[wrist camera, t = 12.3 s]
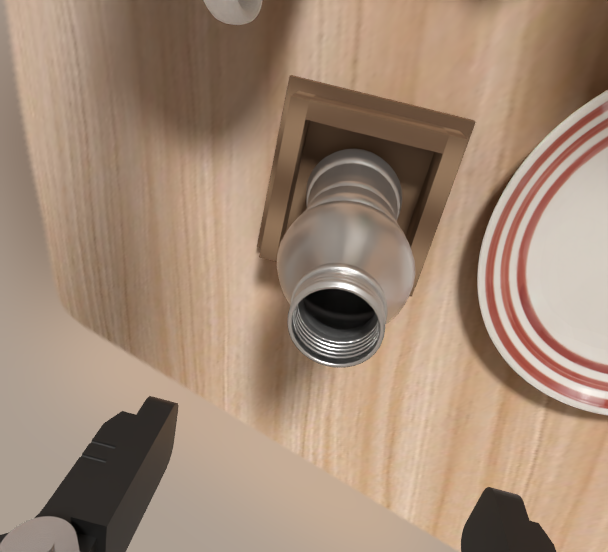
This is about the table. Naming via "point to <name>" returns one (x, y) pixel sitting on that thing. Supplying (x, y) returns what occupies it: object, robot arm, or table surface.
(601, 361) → the dinner plate
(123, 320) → the table surface
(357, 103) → the bottle stand
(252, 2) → the mug
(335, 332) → the plastic bottle
